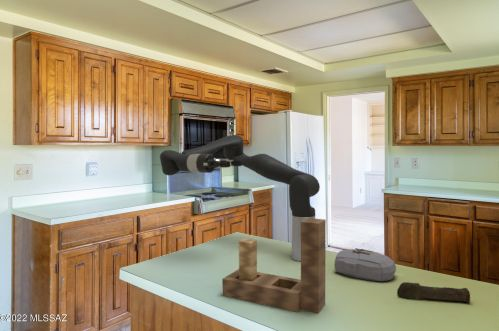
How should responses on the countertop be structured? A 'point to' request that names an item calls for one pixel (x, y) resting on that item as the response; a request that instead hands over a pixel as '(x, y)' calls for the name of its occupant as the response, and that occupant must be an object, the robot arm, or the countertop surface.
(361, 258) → the small grey backpack
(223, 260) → the countertop surface
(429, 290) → the hand tool
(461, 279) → the countertop surface
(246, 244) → the rail bar
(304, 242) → the wooden peg socket stand
